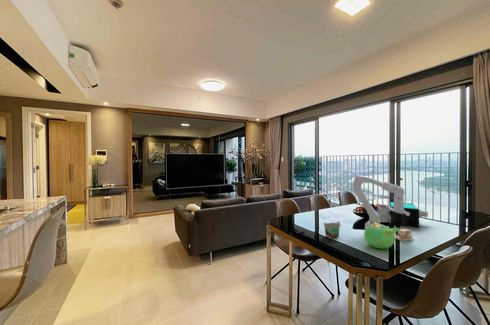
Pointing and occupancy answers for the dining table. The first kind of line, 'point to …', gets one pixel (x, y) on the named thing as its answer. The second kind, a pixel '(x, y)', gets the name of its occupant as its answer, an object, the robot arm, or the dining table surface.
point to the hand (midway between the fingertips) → (398, 223)
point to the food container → (332, 229)
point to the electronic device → (414, 215)
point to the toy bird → (380, 235)
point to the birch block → (404, 233)
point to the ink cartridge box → (384, 214)
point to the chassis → (403, 239)
